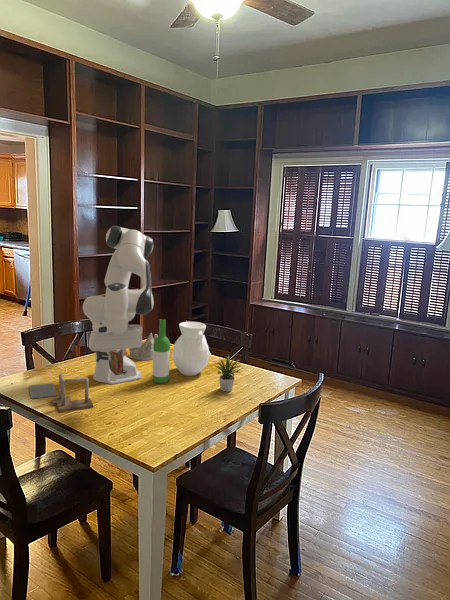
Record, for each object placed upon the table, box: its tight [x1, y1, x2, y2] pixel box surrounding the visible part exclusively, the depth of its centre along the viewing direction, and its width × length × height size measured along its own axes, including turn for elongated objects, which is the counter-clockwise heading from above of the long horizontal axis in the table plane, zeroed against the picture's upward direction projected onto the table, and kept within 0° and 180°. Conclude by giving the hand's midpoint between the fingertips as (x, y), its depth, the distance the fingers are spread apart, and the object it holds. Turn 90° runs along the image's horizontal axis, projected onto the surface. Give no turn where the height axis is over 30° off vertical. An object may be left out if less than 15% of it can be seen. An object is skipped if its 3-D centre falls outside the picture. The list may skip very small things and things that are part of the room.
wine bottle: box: [152, 318, 171, 384], centre depth 212 cm, size 8×8×30 cm
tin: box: [109, 350, 123, 375], centre depth 178 cm, size 15×3×8 cm, turn 26°
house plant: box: [214, 355, 244, 393], centre depth 205 cm, size 14×14×16 cm
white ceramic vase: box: [171, 321, 210, 376], centre depth 226 cm, size 19×18×25 cm
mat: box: [28, 382, 58, 400], centre depth 195 cm, size 10×14×1 cm
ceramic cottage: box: [128, 332, 159, 362], centre depth 249 cm, size 16×16×15 cm
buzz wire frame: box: [51, 373, 94, 413], centre depth 183 cm, size 14×12×12 cm
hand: (115, 359), depth 178 cm, fingers closed on tin, 3 cm apart
